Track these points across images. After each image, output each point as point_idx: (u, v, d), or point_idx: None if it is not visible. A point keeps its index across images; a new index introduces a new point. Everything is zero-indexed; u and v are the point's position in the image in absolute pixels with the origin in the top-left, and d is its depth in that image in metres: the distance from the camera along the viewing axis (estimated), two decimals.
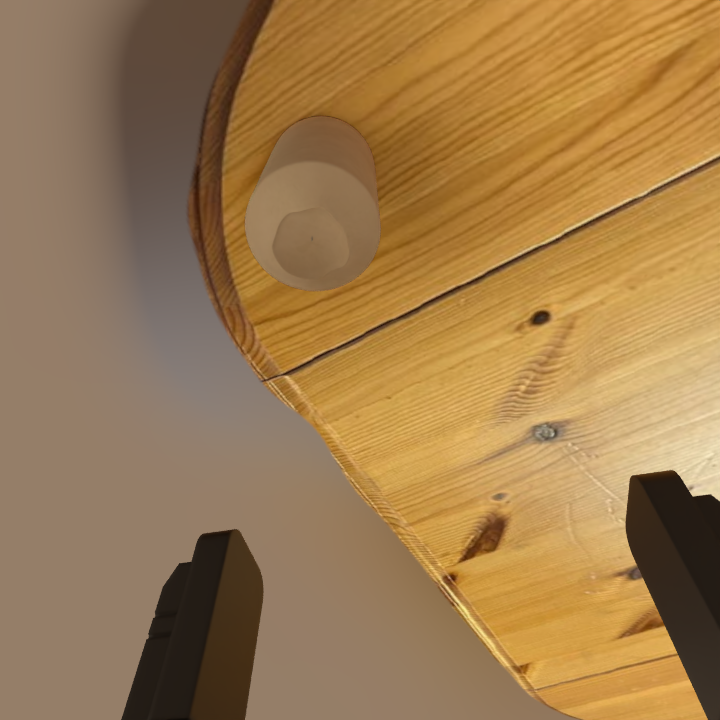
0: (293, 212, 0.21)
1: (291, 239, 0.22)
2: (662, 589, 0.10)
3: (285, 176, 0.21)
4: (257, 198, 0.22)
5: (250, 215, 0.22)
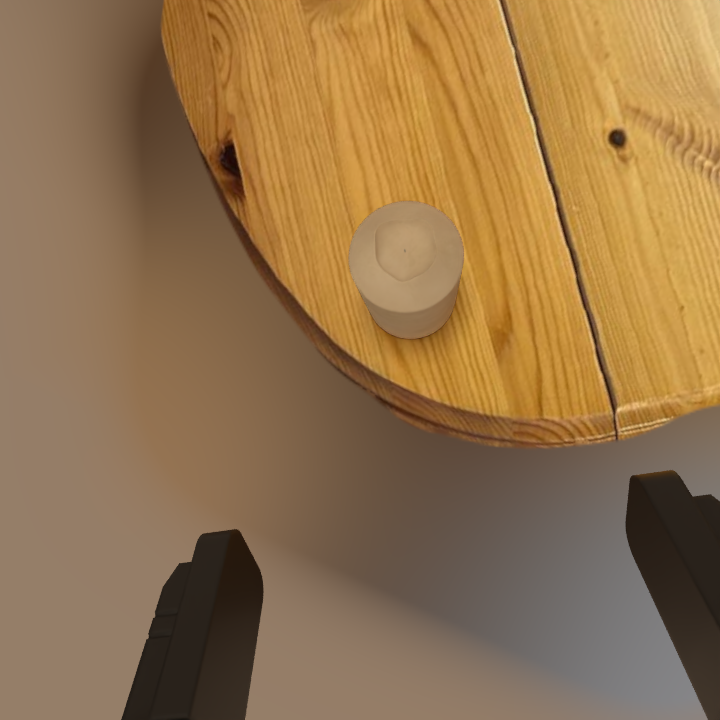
0: (377, 255, 0.26)
1: (401, 268, 0.26)
2: (662, 589, 0.10)
3: (353, 259, 0.27)
4: (363, 286, 0.27)
5: (374, 298, 0.27)
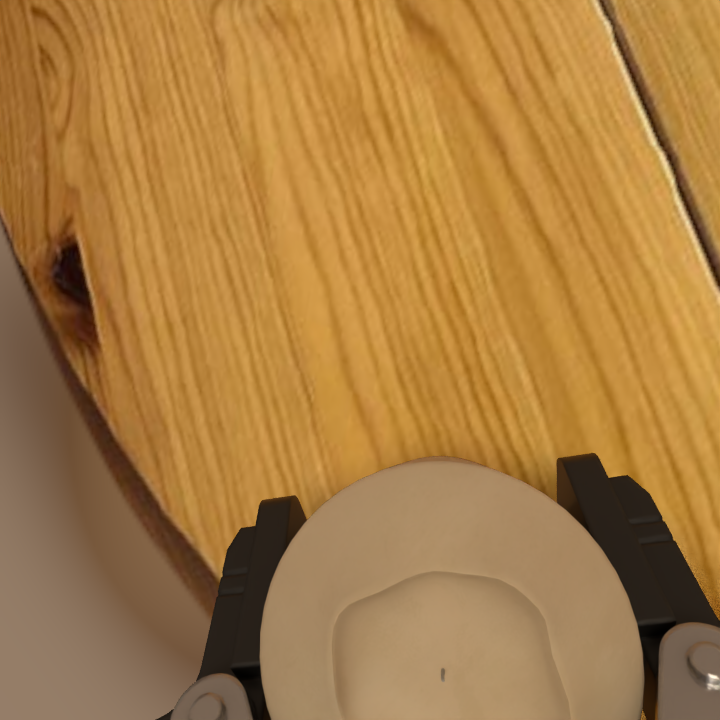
0: (346, 702, 0.07)
1: None
2: None
3: (272, 676, 0.08)
4: None
5: None
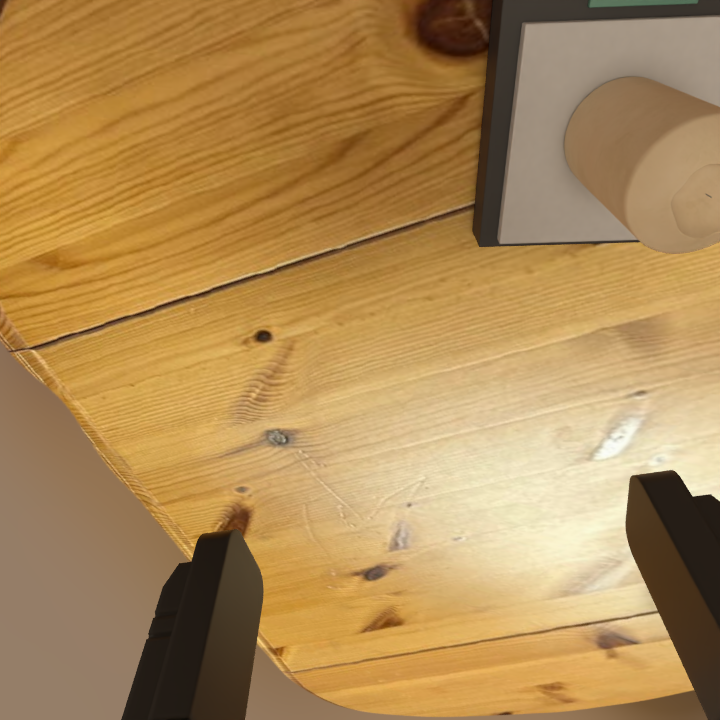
0: (711, 164, 0.21)
1: (686, 192, 0.21)
2: (662, 589, 0.10)
3: (712, 125, 0.20)
4: (671, 142, 0.21)
5: (652, 159, 0.21)
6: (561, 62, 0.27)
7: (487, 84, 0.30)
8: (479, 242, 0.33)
